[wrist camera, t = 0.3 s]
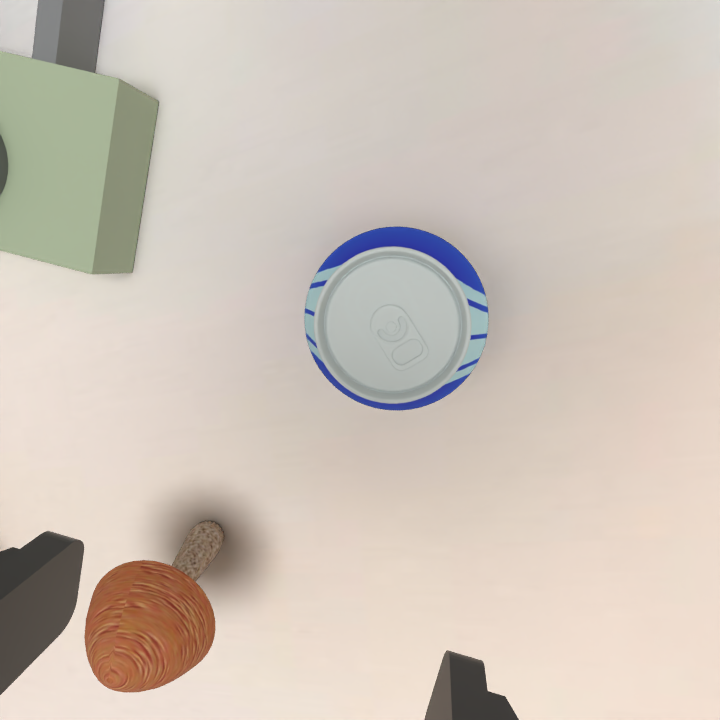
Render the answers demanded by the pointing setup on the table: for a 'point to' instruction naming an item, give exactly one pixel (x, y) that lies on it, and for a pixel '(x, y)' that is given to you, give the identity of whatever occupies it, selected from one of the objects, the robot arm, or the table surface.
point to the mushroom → (153, 617)
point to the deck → (71, 147)
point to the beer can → (396, 318)
